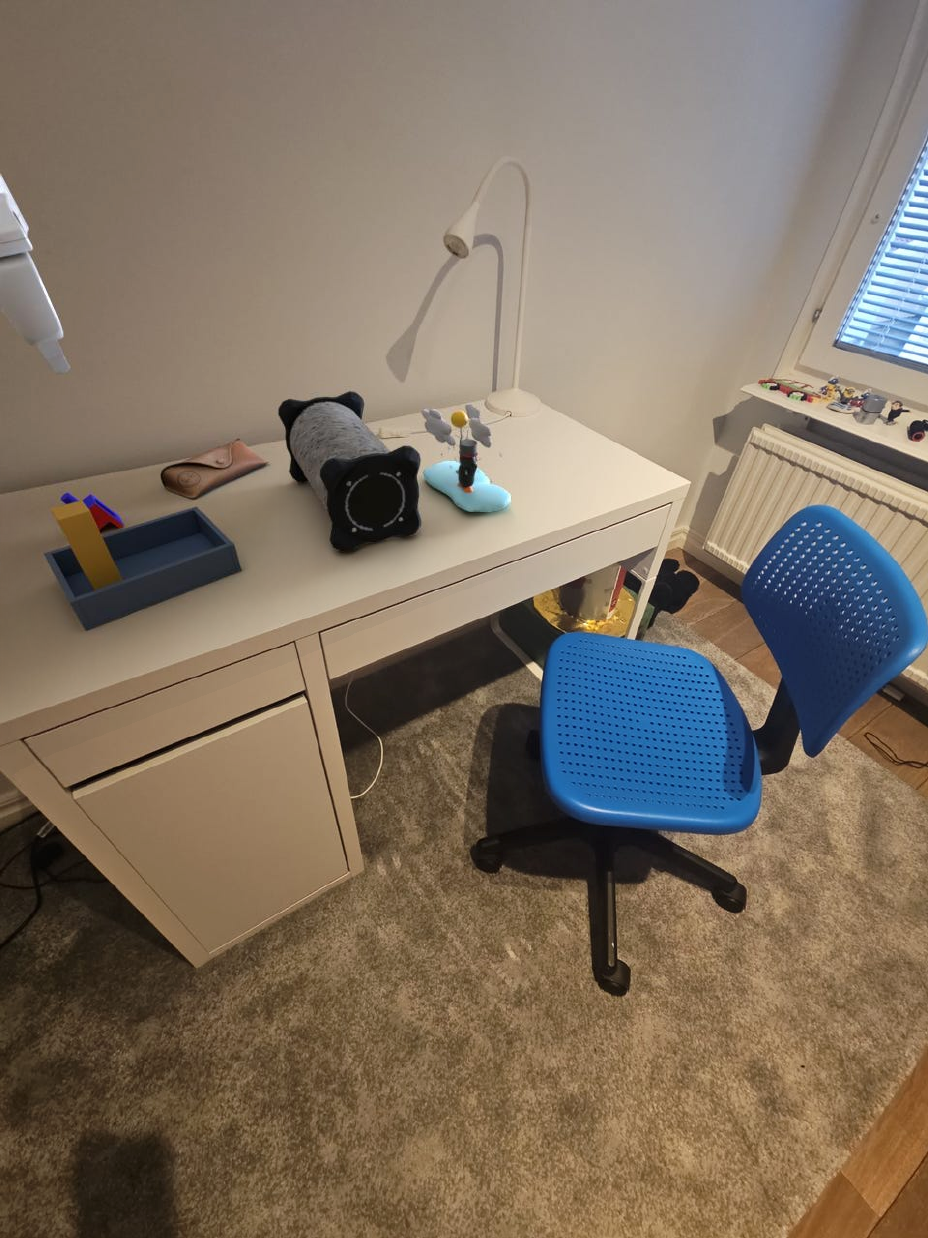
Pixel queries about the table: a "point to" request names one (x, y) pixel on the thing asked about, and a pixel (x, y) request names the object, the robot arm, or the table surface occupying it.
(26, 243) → the robot arm
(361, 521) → the speaker
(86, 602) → the bin
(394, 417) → the table surface
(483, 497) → the penguin figurine
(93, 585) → the wooden stick
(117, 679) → the table surface
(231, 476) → the sunglasses case
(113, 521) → the toy building block
